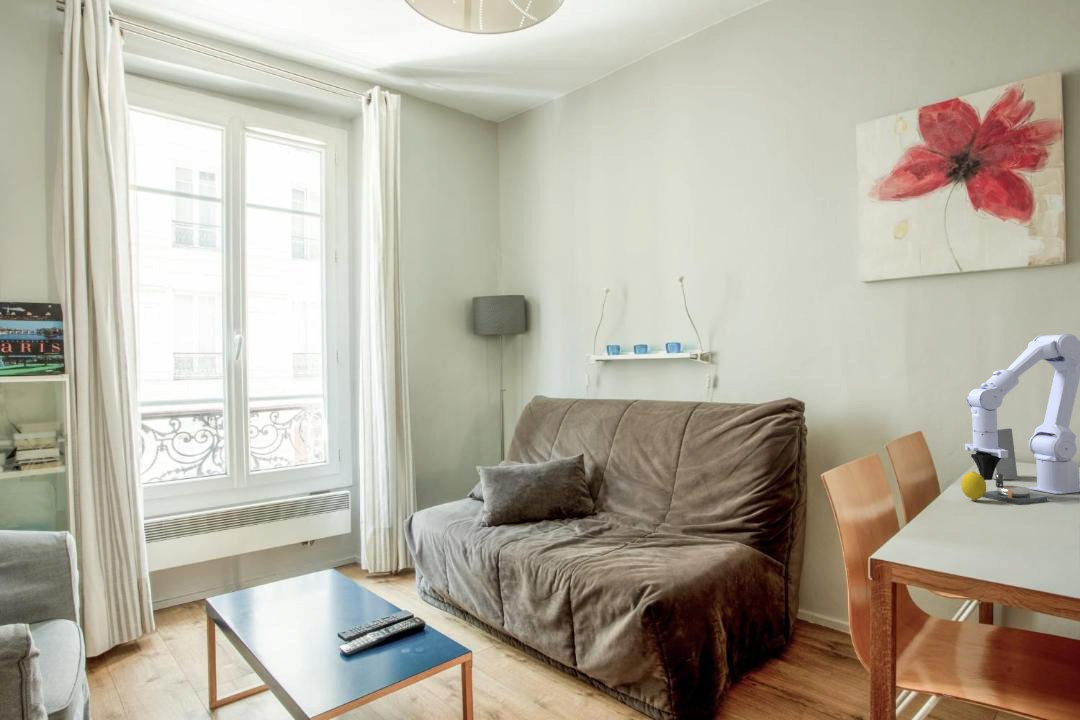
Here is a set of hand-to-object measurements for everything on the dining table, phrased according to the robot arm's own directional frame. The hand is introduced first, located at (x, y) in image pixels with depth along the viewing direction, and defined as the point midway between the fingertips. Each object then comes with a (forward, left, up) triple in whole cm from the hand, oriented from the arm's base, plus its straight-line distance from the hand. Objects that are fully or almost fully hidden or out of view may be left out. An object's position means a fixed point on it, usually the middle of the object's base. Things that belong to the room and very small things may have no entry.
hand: (986, 479), depth 173 cm
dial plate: (0, +7, -4) cm, 8 cm away
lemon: (+11, +5, -4) cm, 13 cm away
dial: (0, +7, -3) cm, 8 cm away
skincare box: (-22, -15, -4) cm, 27 cm away
